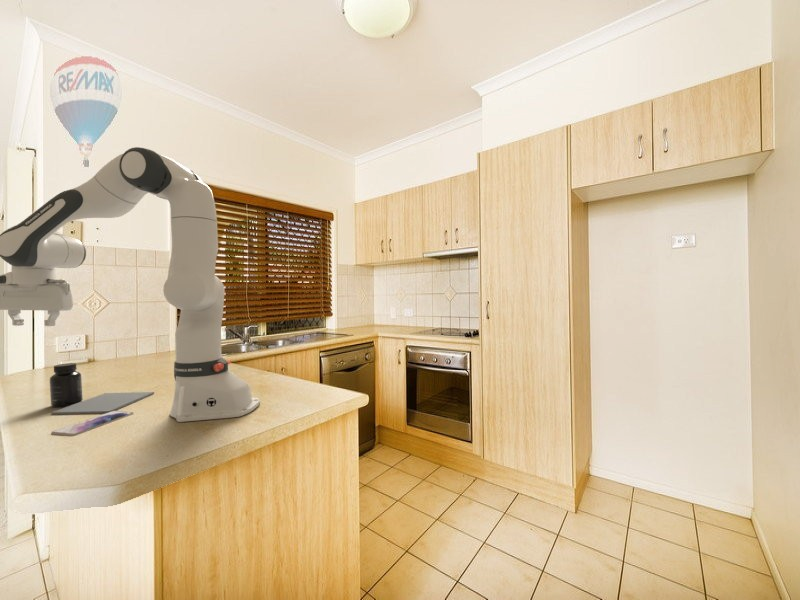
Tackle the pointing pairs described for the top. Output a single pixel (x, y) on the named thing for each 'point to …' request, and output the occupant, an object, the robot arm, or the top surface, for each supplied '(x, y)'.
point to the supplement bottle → (65, 386)
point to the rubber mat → (103, 403)
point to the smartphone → (91, 423)
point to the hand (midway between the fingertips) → (34, 325)
